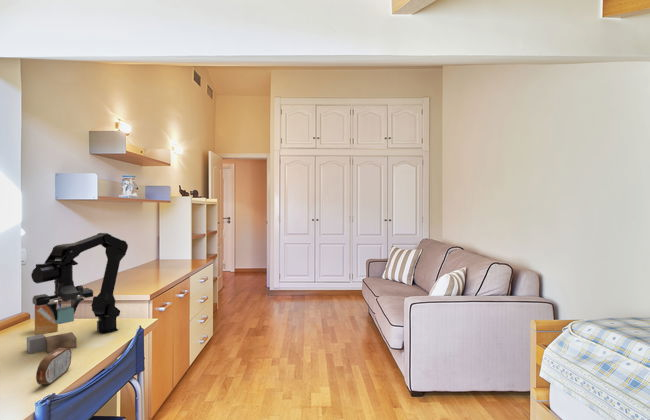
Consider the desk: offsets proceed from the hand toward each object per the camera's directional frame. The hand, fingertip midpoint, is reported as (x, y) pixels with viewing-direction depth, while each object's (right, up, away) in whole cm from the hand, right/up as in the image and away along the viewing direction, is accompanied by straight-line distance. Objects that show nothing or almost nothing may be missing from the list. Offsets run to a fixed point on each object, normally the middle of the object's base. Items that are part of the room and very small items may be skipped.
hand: (64, 318), depth 151 cm
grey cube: (-9, -11, -3) cm, 14 cm away
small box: (-19, -11, +18) cm, 29 cm away
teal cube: (0, -1, 0) cm, 1 cm away
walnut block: (-2, -11, +1) cm, 12 cm away
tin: (+14, -12, -25) cm, 31 cm away
